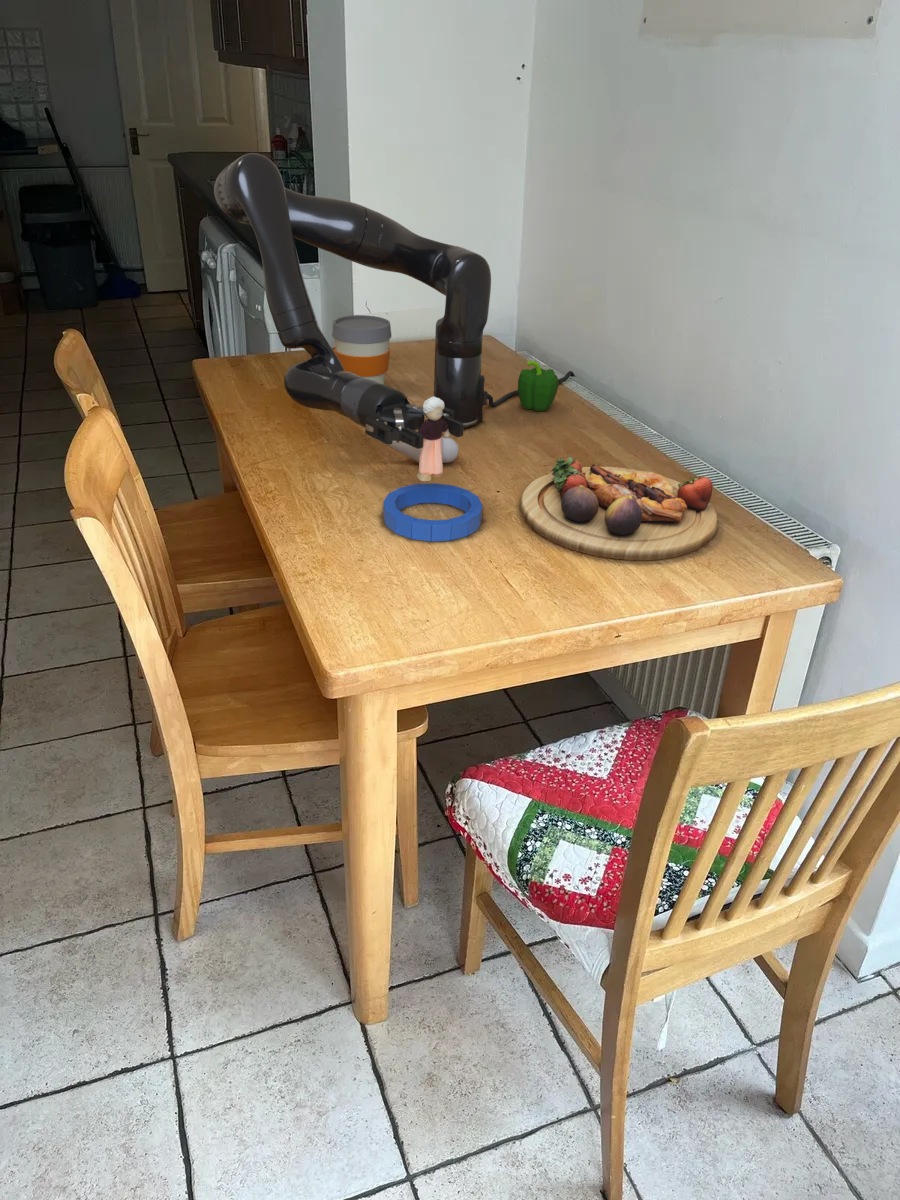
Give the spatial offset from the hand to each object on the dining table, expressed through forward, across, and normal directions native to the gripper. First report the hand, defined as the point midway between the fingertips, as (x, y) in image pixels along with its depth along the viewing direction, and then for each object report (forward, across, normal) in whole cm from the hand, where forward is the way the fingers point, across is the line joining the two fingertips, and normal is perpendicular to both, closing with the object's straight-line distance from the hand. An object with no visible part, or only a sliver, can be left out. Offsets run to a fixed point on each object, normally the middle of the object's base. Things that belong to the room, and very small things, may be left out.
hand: (442, 436), depth 137 cm
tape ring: (-2, 0, +15) cm, 15 cm away
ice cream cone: (-21, +14, +15) cm, 29 cm away
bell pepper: (-28, +54, +15) cm, 62 cm away
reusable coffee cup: (-58, +30, +15) cm, 68 cm away
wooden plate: (+17, +24, +14) cm, 33 cm away
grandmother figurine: (-2, 0, +7) cm, 7 cm away
